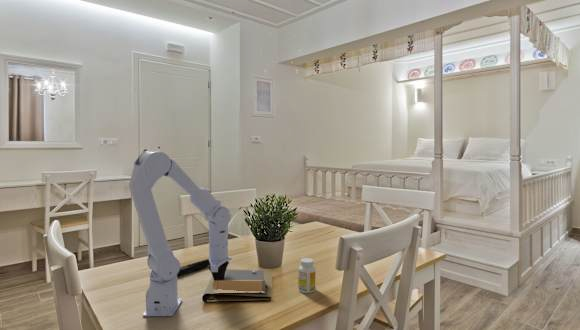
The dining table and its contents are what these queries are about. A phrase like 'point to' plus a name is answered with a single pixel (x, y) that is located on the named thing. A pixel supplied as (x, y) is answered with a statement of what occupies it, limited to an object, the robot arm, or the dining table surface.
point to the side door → (239, 285)
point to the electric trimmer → (193, 267)
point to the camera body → (245, 275)
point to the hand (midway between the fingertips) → (219, 286)
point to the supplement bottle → (306, 276)
